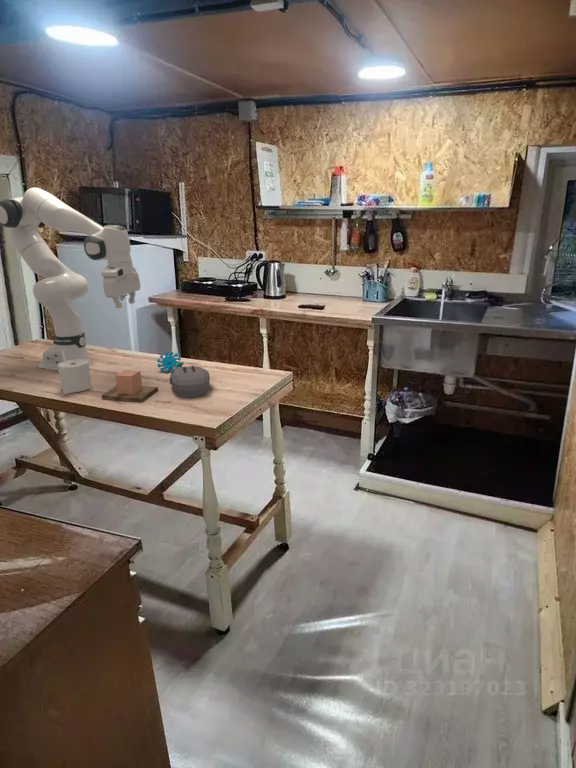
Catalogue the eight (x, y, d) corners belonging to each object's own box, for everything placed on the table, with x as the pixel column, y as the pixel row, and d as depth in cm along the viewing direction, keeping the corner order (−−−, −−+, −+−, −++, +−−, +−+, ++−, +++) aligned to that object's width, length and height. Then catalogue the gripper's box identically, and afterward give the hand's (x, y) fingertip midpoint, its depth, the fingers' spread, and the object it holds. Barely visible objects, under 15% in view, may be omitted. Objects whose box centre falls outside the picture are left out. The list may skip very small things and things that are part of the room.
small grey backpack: (169, 383, 194) (172, 401, 176) (167, 363, 191) (170, 379, 173) (207, 379, 198) (215, 396, 180) (206, 359, 195) (213, 375, 177)
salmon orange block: (117, 393, 180) (115, 375, 177) (127, 387, 185) (124, 369, 183) (133, 394, 178) (131, 376, 176) (142, 388, 184) (140, 370, 182)
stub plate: (102, 399, 179) (99, 382, 176) (120, 387, 190) (117, 371, 187) (141, 402, 175) (139, 385, 173) (158, 390, 186) (156, 374, 184)
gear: (154, 369, 205) (160, 349, 209) (156, 376, 210) (162, 355, 214) (180, 373, 204) (185, 352, 208) (182, 379, 210) (187, 359, 214)
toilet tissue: (91, 381, 197) (88, 357, 193) (92, 391, 186) (88, 366, 183) (62, 385, 193) (58, 361, 190) (61, 395, 183) (56, 370, 179)
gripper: (128, 266, 198) (132, 300, 203) (98, 272, 180) (103, 310, 184) (142, 266, 197) (146, 301, 202) (113, 272, 178) (118, 310, 183)
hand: (125, 305), depth 193 cm, fingers open, 8 cm apart
